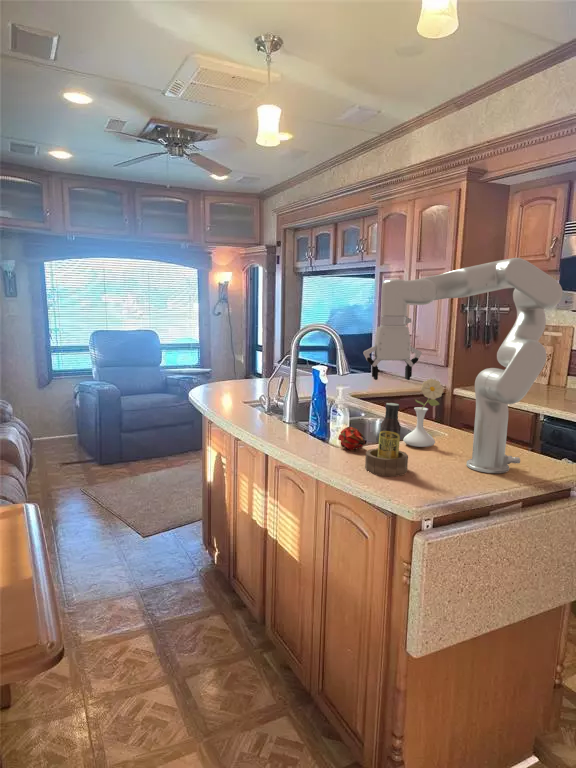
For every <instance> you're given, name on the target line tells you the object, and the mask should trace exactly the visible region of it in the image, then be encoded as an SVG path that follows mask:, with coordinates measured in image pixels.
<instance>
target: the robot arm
mask: <svg viewBox="0 0 576 768" xmlns="http://www.w3.org/2000/svg"><path fill="white" fill-rule="evenodd" d="M504 289H513V292H512V299H513V304H514V305H515V308H516V319H515V322H514V324H513V326H512V327H511V329H510V331H509V332H508V333H507V335H506V337H505V338H504V339H503V342H502V343H501V345H500V346H499V348H498V350H497V352H496V360H497V362H498V363H499V364H500V365H501V366H503V367H504V368H505V369H502V368H497V367H490V368H488V367H487V368H485V369H483V370H481V371H480V372H479V373H478V374H477V376H476V377H475V381H474V395H475V415H474V416H475V417H474V425H473V427H474V428H473V429H474V430H473V438H472V439H473V442H472V454H471V458H470V459H468V460H466V463H465V464H466V466H467V468H469V469H471V470H474V471H476V472H481V473H488V474H505V473H508V472H509V471H510V466H509V465H510V464H520V463H521V457H518V456H515V457H513V456H512V455H507V454H506V447H507V433H508V422H509V406H508V405H513V404H516V403H519V402H520V401H522V400H523V399H524V398H525V396H526V395H527V393H528V392H529V391H530V389H531V388H532V386H533V384H534V383H535V382H536V380H537V378H538V377H539V375H540V374H541V372H542V371H543V369H544V367H545V365H546V362H547V350H546V347H544V345H543V344H542V343H541V342H540V339H541V338H542V336H543V334H544V331H545V328H546V324H547V322H546V321H547V320H546V319H547V318H546V313H545V312H546V311H545V310H547V309H551V308H554V307H556V306H557V305H558V304H559V303H560V302H561V300H562V299H563V294H564V293H563V292H564V291H563V288H562V286H561V284H560V283H559V282H558V280H556V279H555V278H554V277H553V276H552V275H549V274H547V272H545V271H544V270H542V269H540V268H539V267H537V266H536V265H534V264H533V263H531V262H530V261H528V260H526V259H524V258H521V257H512V258H506V259H501V260H500V259H499V260H495V261H491V262H490V261H489V262H486V263H482V264H476V265H472V266H467V267H462V268H458V269H455V270H451V271H448V272H444V273H440V274H436V275H431V276H427V277H422V278H417V279H409V280H405V279H386V280H384V281H383V282H382V284H381V297H380V298H381V301H380V303H381V304H380V305H381V306H380V326H377V328H376V332H375V340H374V345H373V346H371V347H370V348H368V349H365V350H364V351H363V352H362V353H363V356H364V357H365V360H366V361H367V362H368V363H369V364H370V366H371V377H372V378H373V380H375V381H378V380H379V379H378V378H379V367H378V364H379V363H380V362H381V361H404V362H405V364H406V365H405V366H404V367H405V368H404V369H405V370H404V371H405V372H404V378H405V380H407V381H410V380H411V378H412V374H413V373H412V372H413V367H414V365H415V364H416V363H417V362H418V361H419V359H420V358H421V356H422V355H423V354H422V353H423V352H422V351H420V350H418V349H417V348H415V347H413V346H412V345H411V335H410V329H409V327H408V326H407V325H408V324H411V323H412V318H410V317H408V305H409V306H425V305H428V304H431V303H432V302H433V301H438V300H444V299H460V298H468V297H471V296H472V297H473V296H475V295H481V294H487V293H489V292H495V291H500V290H504ZM373 352H374V353H373ZM371 353H373V354H374V359H372V358H371V356H370V354H371ZM411 353H414V356H413V357H412V359H410V358H411Z"/></svg>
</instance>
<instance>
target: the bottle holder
mask: <svg viewBox="0 0 576 768" xmlns="http://www.w3.org/2000/svg"><path fill="white" fill-rule="evenodd" d="M364 458H365V461H364V462H365V464H364V469H365V470H366V471H367V472H368V471H369V473H370V472H371V474H372V475H376V474H377V475H378V476H382V475H383V477H398V475H399V476H404V475H405V474H406V473H407V472H408V463H409V462H408V461H409V455H408V454H407V453H406V452H404V451H402V450H399V453H398V458H396V459H385V458H379V457H378V447H377V448H372V449H371V448H369V449H368V450H366V451H365V457H364Z"/></svg>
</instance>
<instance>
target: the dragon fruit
mask: <svg viewBox="0 0 576 768" xmlns="http://www.w3.org/2000/svg"><path fill="white" fill-rule="evenodd" d="M337 439H338V441H340V446H341V448H345V447H346V449H347V450H349V451H350V452H357V449H362V448H363V447H364V445H366V444H367V441H368V440H365V439H366V437H365V436H364V434H363V433H362V432H361V431H359V429H357V428H356V427H353V426H347V427H345V428H343V429H342V430H341V431H340V434H339V435H338V437H337ZM356 448H357V449H356Z"/></svg>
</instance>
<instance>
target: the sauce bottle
mask: <svg viewBox="0 0 576 768" xmlns="http://www.w3.org/2000/svg"><path fill="white" fill-rule="evenodd" d="M399 409H400V404H399V403H394V402H386V403H385V414H384V415H385V416H384V418H383V420H382V422H381V423H380V430H379V434H378V436H379V437H378V447H377V448H378V457H379V458H385V459H396V458H398V453H399V451H400V440H401V428H402V427H401V424H400V422H399Z"/></svg>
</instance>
